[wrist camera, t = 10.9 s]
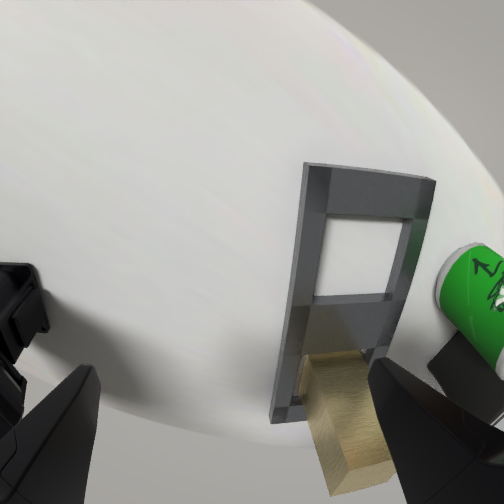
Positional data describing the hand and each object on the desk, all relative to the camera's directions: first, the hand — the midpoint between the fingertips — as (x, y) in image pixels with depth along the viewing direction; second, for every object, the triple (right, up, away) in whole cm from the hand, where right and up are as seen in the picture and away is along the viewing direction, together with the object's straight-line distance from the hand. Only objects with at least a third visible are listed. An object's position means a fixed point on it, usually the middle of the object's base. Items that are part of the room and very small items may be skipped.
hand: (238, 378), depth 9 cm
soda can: (+20, +2, +17) cm, 26 cm away
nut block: (+8, -7, +19) cm, 22 cm away
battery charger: (+23, -7, +21) cm, 32 cm away
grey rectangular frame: (+8, -2, +16) cm, 18 cm away
